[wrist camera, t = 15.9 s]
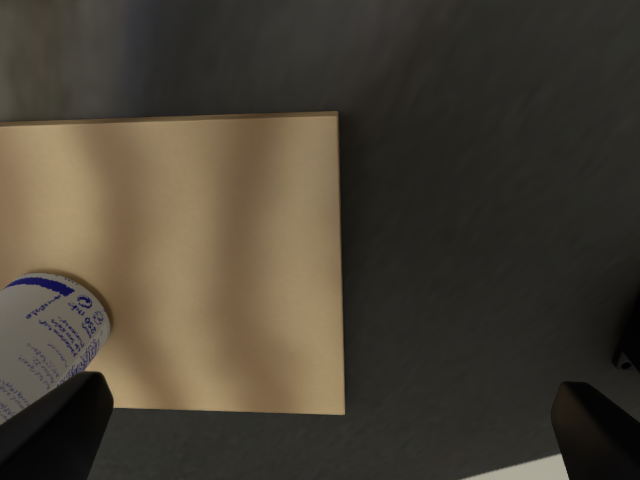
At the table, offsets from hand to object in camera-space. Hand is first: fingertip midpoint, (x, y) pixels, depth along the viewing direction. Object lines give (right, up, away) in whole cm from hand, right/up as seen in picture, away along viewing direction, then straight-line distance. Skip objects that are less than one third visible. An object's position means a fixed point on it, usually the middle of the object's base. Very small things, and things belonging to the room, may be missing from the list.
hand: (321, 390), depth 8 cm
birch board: (-10, +1, +14) cm, 17 cm away
